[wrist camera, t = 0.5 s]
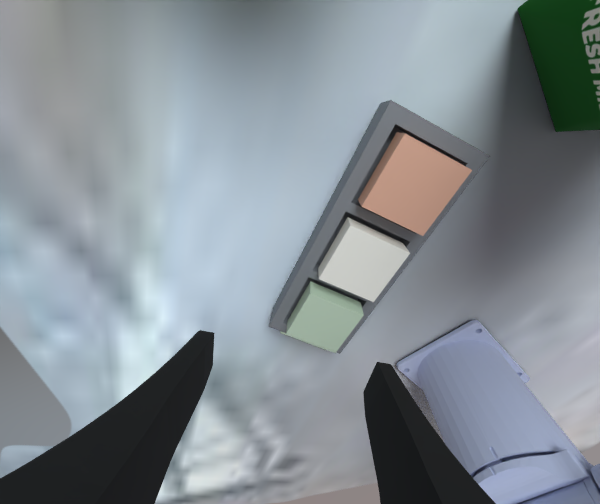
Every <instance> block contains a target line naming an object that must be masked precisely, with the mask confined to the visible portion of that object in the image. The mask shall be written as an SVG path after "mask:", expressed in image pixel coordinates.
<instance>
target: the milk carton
mask: <svg viewBox="0 0 600 504" xmlns="http://www.w3.org/2000/svg"><path fill="white" fill-rule="evenodd" d="M518 12H519V15H520V18H521V22H522V25H523V28H524V31H525V34H526V38H527V41H528V44H529V47H530V50H531V54H532V57H533V60H534V63H535V66H536V70H537V73H538V76H539V79H540V83H541V86H542V89H543V92H544V95H545V99H546V102H547V105H548V108H549V111H550V115H551V118H552V121H553V124H554V127H555V131H556V132H562V131H583V130H600V0H528V1H526V2H525V3H524V4H523V5H521V6H520V7H519V8H518Z"/></svg>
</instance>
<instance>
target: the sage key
mask: <svg viewBox="0 0 600 504" xmlns="http://www.w3.org/2000/svg"><path fill="white" fill-rule="evenodd" d="M363 316H364V314H363V310H362V306H361V302H359V301H356V300H354V299H352V298H349V297H347V296H345V295H342V294H340V293H337V292H335V291H333V290H330V289H328V288H325V287H323V286H321V285H318V284H316V283H313V282H311V281H310V283H309V285H308V287H307V288H306V290H305V292H304V293H303V295H302V297H301V299H300V300H299V302H298V304H297V306H296V307H295V309H294V311H293V312H292V314H291V316H290V318H289V319H288V322H287V330H286V335H289V336H292V337H294V338H297V339H300V340H302V341H305V342H308V343H310V344H313V345H316V346H318V347H321V348H323V349H326V350H329V351H331V352H334V353H336V352H337V350H338V349H339V348H340V346H341V345H342V344H343V342H344V341H345V340H346V338H347V337H348V336H349V334H350V333H351V332H352V330H353V329H354V328H355V326H356V325H357V324H358V322H359V321H360V320H361V318H362V317H363Z"/></svg>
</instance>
